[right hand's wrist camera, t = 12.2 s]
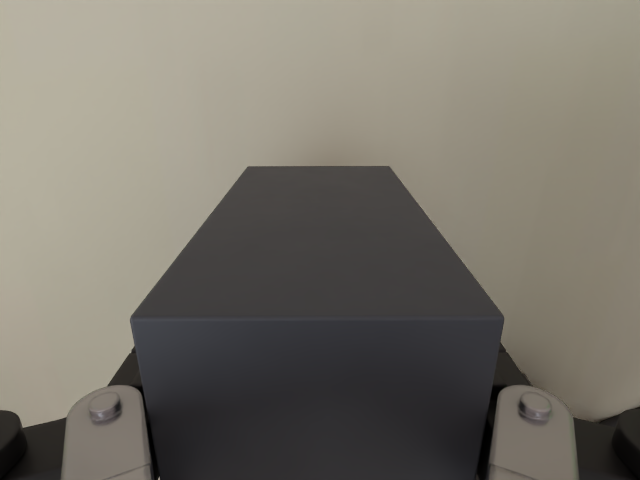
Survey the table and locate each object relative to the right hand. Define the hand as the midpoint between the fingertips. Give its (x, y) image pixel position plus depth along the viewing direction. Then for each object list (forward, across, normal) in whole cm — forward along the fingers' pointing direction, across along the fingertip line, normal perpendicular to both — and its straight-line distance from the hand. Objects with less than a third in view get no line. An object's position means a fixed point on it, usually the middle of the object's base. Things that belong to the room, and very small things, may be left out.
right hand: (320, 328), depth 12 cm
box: (+8, 0, -10) cm, 12 cm away
